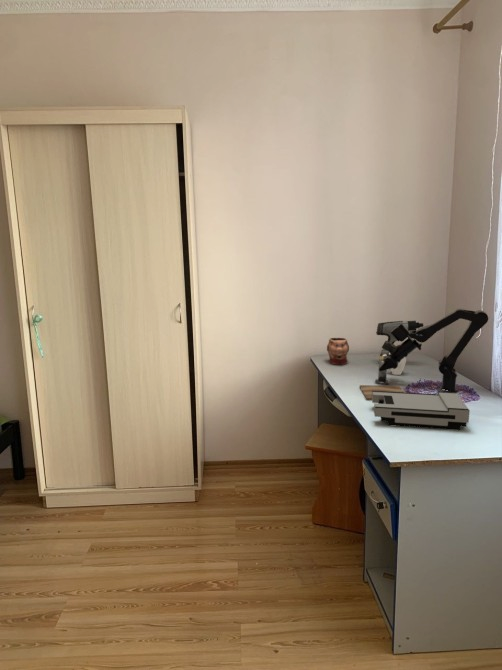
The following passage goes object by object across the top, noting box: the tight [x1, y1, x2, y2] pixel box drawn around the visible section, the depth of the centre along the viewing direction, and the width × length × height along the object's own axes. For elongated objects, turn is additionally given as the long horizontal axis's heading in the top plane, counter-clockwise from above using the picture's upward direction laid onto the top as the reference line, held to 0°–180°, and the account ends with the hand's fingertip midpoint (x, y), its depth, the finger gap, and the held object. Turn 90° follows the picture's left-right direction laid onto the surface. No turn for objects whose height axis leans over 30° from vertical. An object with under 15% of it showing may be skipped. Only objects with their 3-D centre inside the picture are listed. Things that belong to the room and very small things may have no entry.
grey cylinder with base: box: [374, 355, 390, 386], centre depth 221 cm, size 6×6×13 cm
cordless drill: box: [375, 320, 424, 356], centre depth 254 cm, size 8×24×25 cm, turn 78°
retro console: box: [371, 390, 470, 431], centre depth 176 cm, size 21×32×8 cm, turn 79°
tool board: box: [359, 384, 406, 401], centre depth 205 cm, size 18×18×1 cm
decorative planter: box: [326, 337, 350, 365], centre depth 261 cm, size 20×12×14 cm, turn 2°
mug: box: [383, 353, 407, 376], centre depth 237 cm, size 12×8×11 cm
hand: (379, 369), depth 221 cm, fingers open, 4 cm apart
